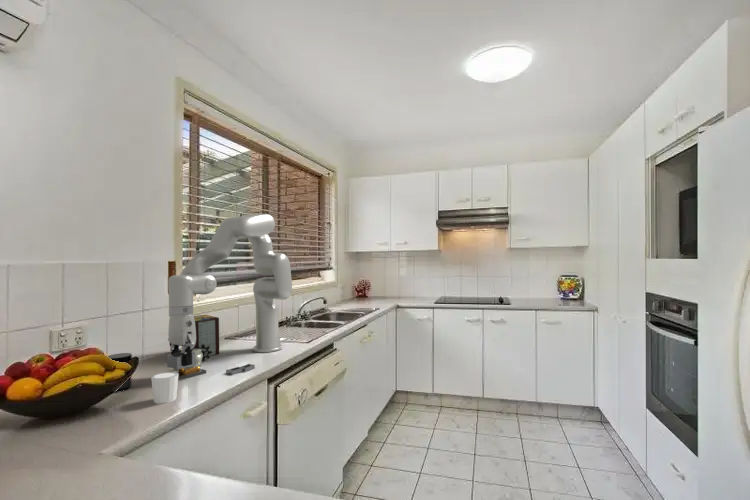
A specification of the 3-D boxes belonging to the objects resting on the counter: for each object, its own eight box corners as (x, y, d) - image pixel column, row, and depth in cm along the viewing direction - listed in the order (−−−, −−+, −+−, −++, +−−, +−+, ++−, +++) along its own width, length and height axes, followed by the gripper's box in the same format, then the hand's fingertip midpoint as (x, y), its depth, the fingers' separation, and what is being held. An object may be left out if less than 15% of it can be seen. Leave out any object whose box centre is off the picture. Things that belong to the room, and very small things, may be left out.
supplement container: (133, 389, 121) (133, 355, 121) (106, 394, 116) (106, 359, 117) (130, 384, 126) (130, 351, 126) (105, 388, 122) (105, 355, 122)
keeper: (195, 370, 141) (195, 354, 141) (206, 373, 137) (206, 357, 137) (164, 378, 132) (164, 361, 132) (175, 381, 128) (175, 364, 128)
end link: (185, 362, 138) (185, 351, 138) (195, 365, 134) (195, 353, 134) (167, 366, 133) (167, 354, 133) (177, 369, 129) (177, 357, 129)
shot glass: (184, 397, 113) (184, 372, 113) (164, 405, 107) (164, 379, 107) (165, 394, 115) (165, 370, 116) (145, 402, 109) (145, 377, 109)
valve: (203, 368, 143) (212, 360, 155) (203, 350, 144) (212, 343, 155) (184, 369, 142) (194, 361, 154) (184, 351, 143) (194, 344, 154)
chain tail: (249, 366, 144) (249, 363, 144) (257, 368, 142) (257, 365, 142) (226, 373, 136) (226, 370, 136) (233, 375, 134) (233, 371, 134)
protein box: (206, 348, 176) (206, 314, 176) (219, 354, 164) (219, 317, 165) (181, 352, 169) (181, 316, 169) (193, 359, 157) (193, 320, 158)
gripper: (205, 311, 132) (206, 364, 131) (178, 308, 142) (179, 358, 141) (184, 314, 126) (184, 370, 125) (157, 310, 136) (157, 362, 135)
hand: (181, 363), depth 133 cm, fingers closed on end link, 6 cm apart
